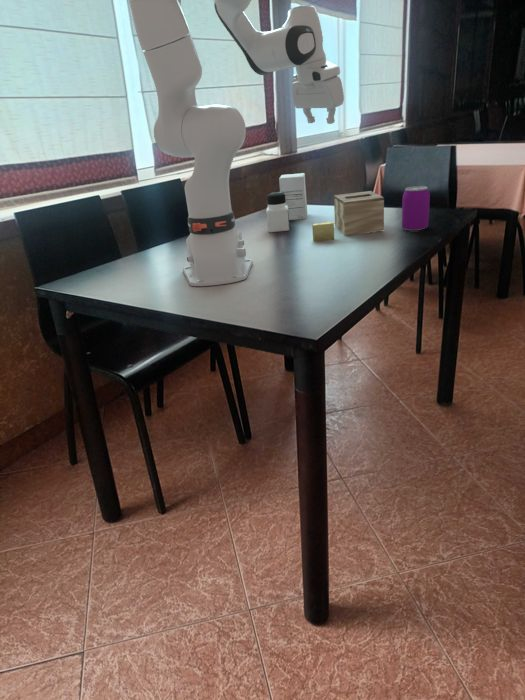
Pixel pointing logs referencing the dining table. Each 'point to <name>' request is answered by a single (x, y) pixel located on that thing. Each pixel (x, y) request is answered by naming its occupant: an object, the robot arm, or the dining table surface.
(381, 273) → the dining table surface
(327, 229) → the yellow block
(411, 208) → the beverage can
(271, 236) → the dining table surface
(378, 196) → the coin box
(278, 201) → the medicine bottle
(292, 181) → the supplement box
